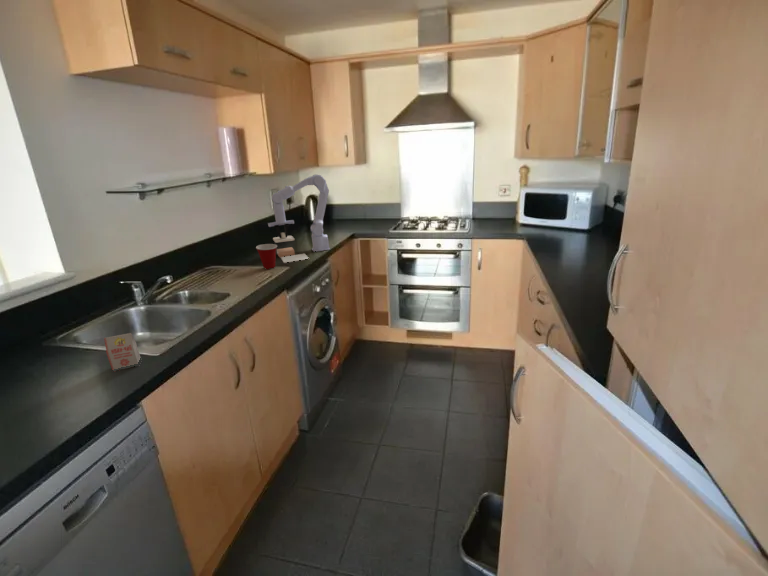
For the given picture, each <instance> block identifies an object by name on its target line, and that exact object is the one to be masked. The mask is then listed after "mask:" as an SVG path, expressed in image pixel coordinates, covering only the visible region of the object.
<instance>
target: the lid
mask: <svg viewBox="0 0 768 576" xmlns="http://www.w3.org/2000/svg"><path fill="white" fill-rule="evenodd" d="M280 234H281V238H280V237H279V236H277V237H276V236H275V237H272V240H273V241H274V244H276V243H283V242H293V241H295V238H294V236H292V235H287V237H286V234H285V231H284V232H280Z"/></svg>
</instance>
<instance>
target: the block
mask: <svg viewBox="0 0 768 576" xmlns="http://www.w3.org/2000/svg"><path fill="white" fill-rule="evenodd" d="M276 255H277V256H278V257H279V258H281V257H284V256H290V255H296V253H295V249H294V248H293V247H292V246H291V247H284V248H276Z"/></svg>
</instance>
